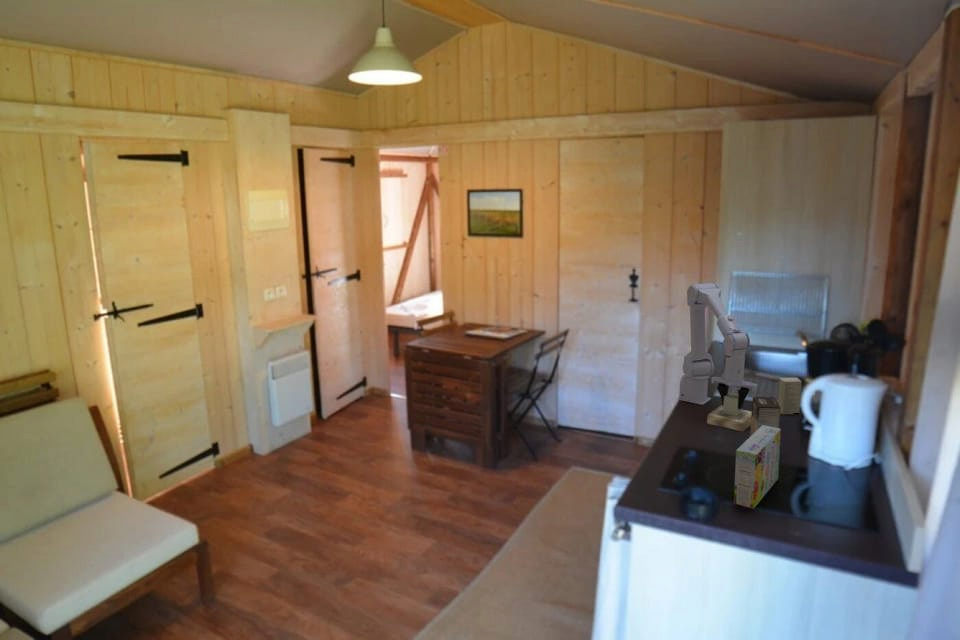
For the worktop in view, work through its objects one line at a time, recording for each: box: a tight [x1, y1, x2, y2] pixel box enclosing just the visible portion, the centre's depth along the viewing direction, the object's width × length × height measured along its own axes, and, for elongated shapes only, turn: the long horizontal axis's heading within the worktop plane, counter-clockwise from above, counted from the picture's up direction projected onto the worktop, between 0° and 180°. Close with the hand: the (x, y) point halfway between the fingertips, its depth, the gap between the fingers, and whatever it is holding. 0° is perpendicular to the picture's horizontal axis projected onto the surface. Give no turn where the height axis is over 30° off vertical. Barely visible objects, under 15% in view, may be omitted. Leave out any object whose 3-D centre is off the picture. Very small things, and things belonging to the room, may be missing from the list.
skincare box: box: [777, 376, 803, 415], centre depth 229 cm, size 6×4×12 cm
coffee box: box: [749, 396, 781, 438], centre depth 197 cm, size 9×6×16 cm
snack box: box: [733, 425, 782, 510], centre depth 173 cm, size 21×6×15 cm, turn 141°
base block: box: [706, 404, 752, 432], centre depth 222 cm, size 12×12×3 cm
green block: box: [722, 392, 743, 416], centre depth 222 cm, size 5×5×6 cm
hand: (732, 406), depth 221 cm, fingers closed on green block, 4 cm apart
